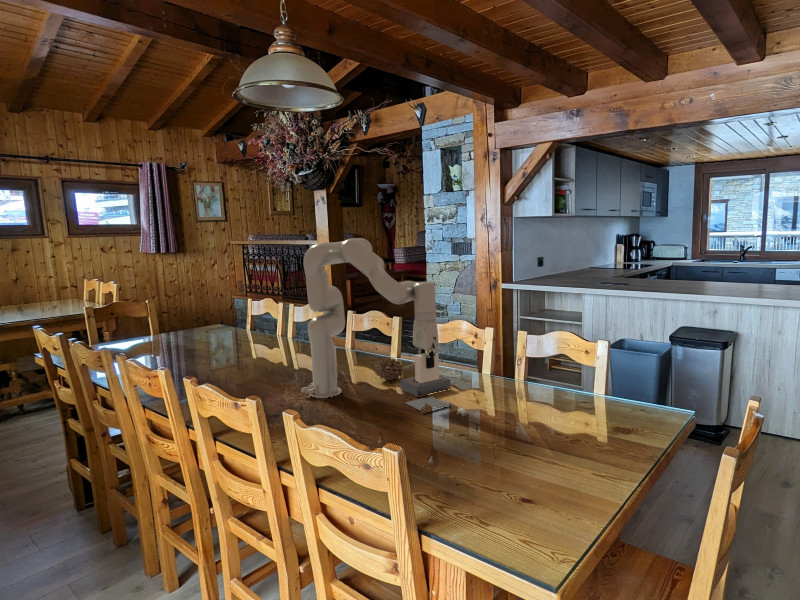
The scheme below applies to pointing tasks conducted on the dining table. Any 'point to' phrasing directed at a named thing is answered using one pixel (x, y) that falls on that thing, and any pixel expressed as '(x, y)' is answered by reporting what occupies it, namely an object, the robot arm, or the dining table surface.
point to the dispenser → (424, 386)
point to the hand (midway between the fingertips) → (426, 366)
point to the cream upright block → (422, 372)
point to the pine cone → (390, 368)
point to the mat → (429, 400)
